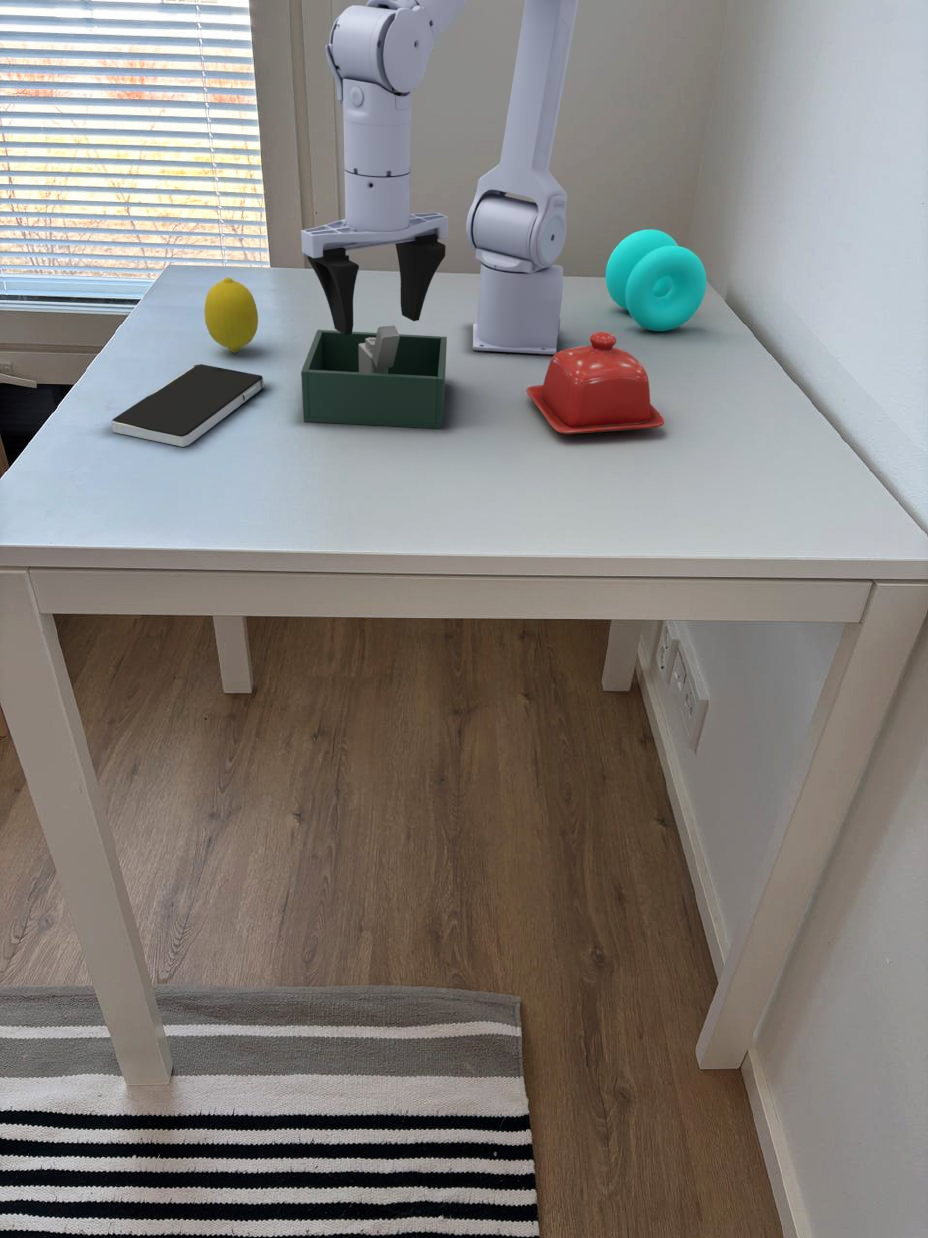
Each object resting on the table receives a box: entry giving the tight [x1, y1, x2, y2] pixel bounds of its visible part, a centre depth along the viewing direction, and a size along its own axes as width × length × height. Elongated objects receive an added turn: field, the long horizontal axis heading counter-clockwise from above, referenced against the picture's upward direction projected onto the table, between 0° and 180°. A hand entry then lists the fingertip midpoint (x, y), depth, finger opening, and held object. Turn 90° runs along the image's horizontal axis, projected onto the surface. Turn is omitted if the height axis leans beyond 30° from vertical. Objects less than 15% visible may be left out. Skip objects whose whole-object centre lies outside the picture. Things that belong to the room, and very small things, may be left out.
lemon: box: [203, 277, 259, 353], centre depth 102 cm, size 6×6×8 cm
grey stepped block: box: [359, 325, 400, 374], centre depth 93 cm, size 7×2×8 cm, turn 24°
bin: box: [300, 329, 448, 430], centre depth 94 cm, size 13×11×5 cm
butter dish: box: [525, 331, 666, 435], centre depth 93 cm, size 12×12×8 cm
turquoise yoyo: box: [605, 229, 707, 332], centre depth 117 cm, size 10×10×10 cm
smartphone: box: [111, 363, 265, 447], centre depth 92 cm, size 8×1×15 cm
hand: (377, 324), depth 91 cm, fingers open, 7 cm apart
